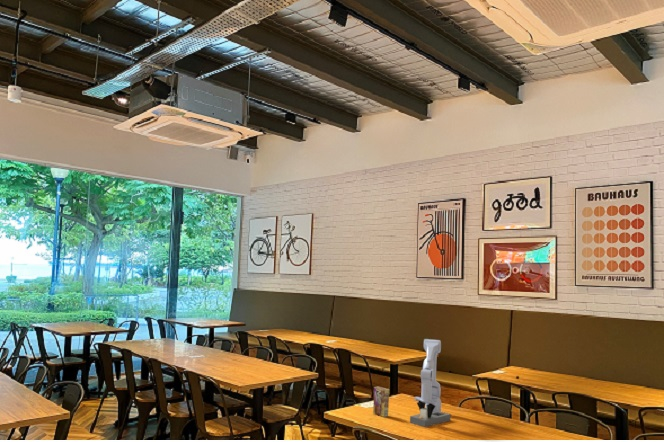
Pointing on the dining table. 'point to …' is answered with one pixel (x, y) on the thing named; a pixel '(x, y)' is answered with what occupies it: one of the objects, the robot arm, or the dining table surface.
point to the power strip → (431, 419)
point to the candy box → (381, 401)
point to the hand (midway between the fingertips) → (425, 416)
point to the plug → (424, 413)
